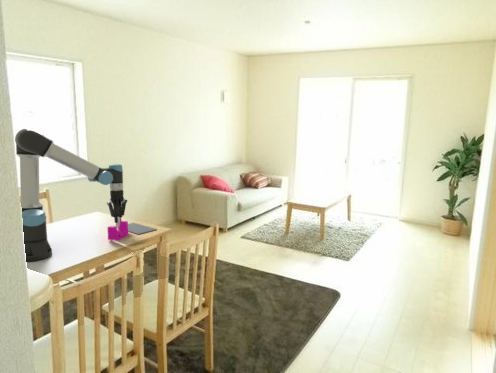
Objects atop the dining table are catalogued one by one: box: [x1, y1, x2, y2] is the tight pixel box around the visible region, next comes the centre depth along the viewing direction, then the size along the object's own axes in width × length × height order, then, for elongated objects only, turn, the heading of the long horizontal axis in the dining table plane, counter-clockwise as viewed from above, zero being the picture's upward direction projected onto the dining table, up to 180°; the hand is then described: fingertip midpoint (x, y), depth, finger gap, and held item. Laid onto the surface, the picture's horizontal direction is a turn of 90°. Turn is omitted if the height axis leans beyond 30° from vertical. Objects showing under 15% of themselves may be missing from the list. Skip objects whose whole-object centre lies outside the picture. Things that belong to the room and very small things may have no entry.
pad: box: [117, 222, 158, 235], centre depth 234 cm, size 14×24×1 cm, turn 53°
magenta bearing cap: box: [107, 220, 129, 241], centre depth 217 cm, size 15×6×8 cm, turn 167°
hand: (118, 227), depth 223 cm, fingers closed
